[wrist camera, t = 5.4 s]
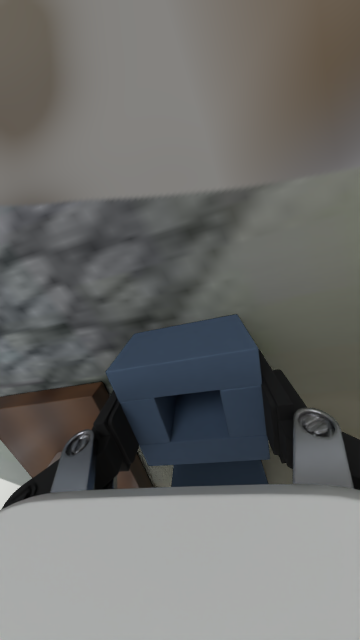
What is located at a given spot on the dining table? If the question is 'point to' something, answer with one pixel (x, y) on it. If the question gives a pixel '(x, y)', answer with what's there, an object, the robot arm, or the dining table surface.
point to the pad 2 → (219, 474)
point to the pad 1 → (193, 393)
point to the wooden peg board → (56, 427)
